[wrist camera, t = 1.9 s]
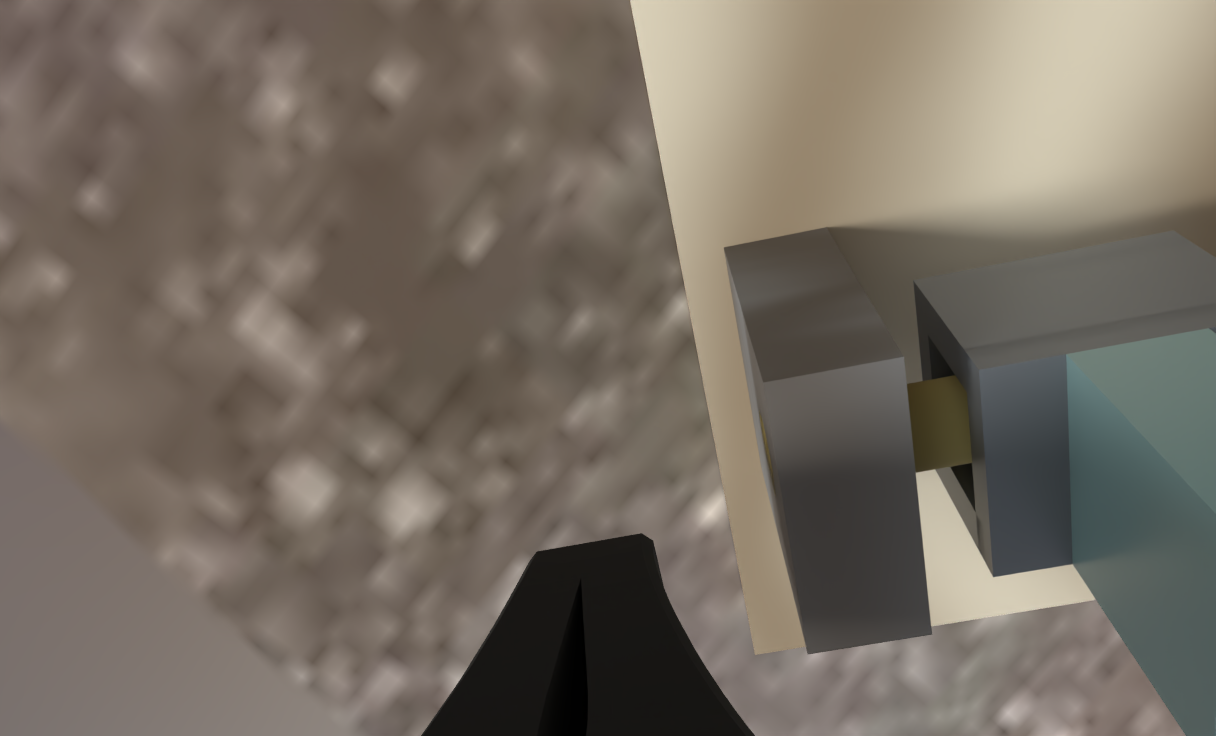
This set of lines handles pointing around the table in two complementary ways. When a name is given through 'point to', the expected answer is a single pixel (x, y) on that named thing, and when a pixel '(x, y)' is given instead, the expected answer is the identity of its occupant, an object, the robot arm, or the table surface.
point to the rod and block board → (895, 257)
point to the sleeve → (1095, 437)
